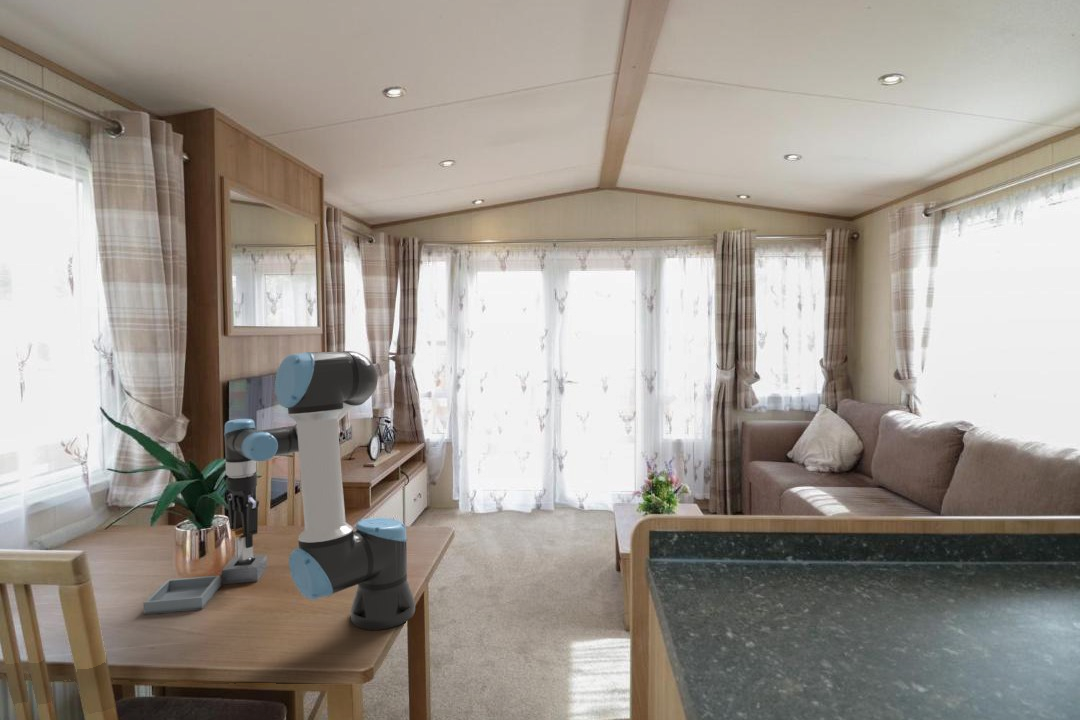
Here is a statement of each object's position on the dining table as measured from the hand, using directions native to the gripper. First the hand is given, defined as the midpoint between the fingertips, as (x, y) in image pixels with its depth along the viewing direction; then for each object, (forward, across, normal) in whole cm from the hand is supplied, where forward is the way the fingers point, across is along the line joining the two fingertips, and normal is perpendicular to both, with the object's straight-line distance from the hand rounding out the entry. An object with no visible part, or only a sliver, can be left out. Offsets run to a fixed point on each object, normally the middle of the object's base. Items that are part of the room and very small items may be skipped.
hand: (244, 556), depth 159 cm
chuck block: (+6, 0, 0) cm, 6 cm away
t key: (+6, 0, 0) cm, 6 cm away
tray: (+6, -1, +16) cm, 17 cm away
